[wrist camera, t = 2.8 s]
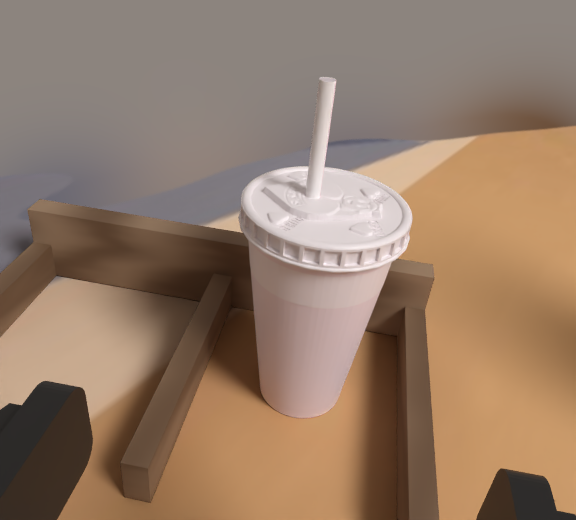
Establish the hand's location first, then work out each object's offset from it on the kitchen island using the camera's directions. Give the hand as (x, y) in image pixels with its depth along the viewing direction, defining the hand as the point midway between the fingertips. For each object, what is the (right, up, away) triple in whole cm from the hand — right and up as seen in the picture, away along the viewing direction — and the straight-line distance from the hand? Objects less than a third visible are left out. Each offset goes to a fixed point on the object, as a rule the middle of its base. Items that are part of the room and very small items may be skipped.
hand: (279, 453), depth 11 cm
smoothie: (+1, -2, +15) cm, 15 cm away
